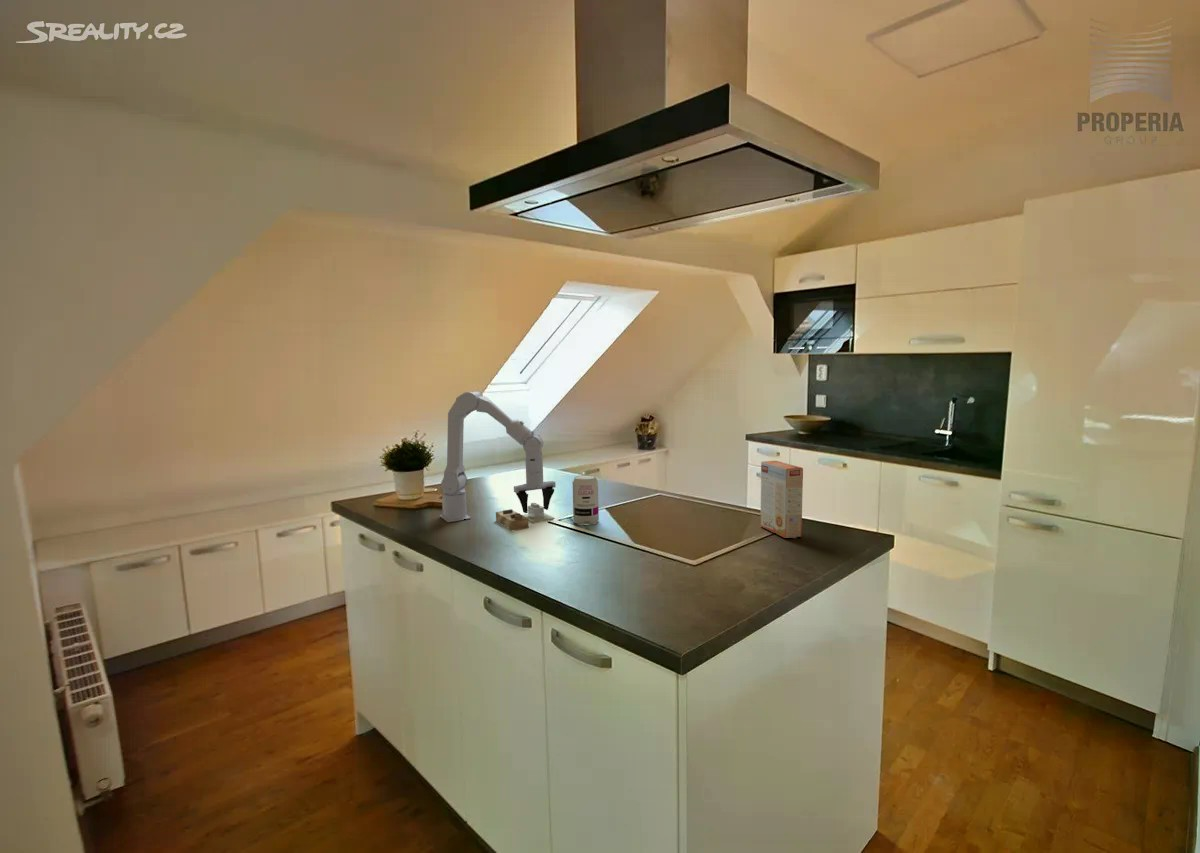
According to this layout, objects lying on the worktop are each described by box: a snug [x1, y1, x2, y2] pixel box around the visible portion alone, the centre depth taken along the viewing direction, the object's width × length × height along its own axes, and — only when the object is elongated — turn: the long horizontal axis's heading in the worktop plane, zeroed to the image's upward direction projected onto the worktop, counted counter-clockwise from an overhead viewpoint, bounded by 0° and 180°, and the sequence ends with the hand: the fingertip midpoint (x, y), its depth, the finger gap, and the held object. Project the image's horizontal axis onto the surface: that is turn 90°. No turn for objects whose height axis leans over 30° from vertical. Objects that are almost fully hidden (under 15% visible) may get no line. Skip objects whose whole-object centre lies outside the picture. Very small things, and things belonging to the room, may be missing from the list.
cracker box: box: [759, 460, 804, 538], centre depth 172 cm, size 14×6×21 cm, turn 14°
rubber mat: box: [522, 512, 555, 524], centre depth 195 cm, size 10×8×1 cm
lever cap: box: [527, 502, 545, 519], centre depth 195 cm, size 5×4×4 cm
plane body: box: [495, 508, 530, 531], centre depth 188 cm, size 14×6×4 cm, turn 31°
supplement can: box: [572, 474, 600, 525], centre depth 188 cm, size 8×8×15 cm
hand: (535, 510), depth 195 cm, fingers open, 7 cm apart
